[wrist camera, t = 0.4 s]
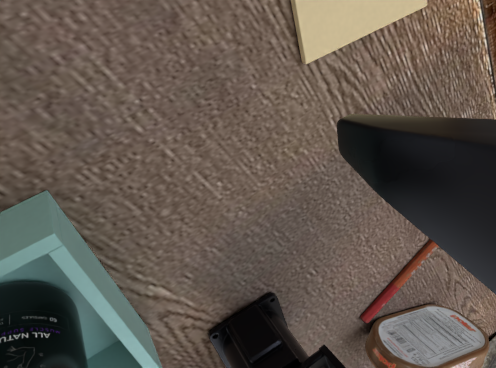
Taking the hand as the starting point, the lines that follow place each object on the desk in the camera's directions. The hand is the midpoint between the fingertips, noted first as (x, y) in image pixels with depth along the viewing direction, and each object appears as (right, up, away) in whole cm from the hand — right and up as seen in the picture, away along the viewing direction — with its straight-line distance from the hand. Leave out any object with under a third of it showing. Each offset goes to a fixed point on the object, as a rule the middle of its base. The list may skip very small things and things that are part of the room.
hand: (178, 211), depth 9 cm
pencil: (+20, -7, +35) cm, 40 cm away
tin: (+20, -15, +39) cm, 46 cm away
